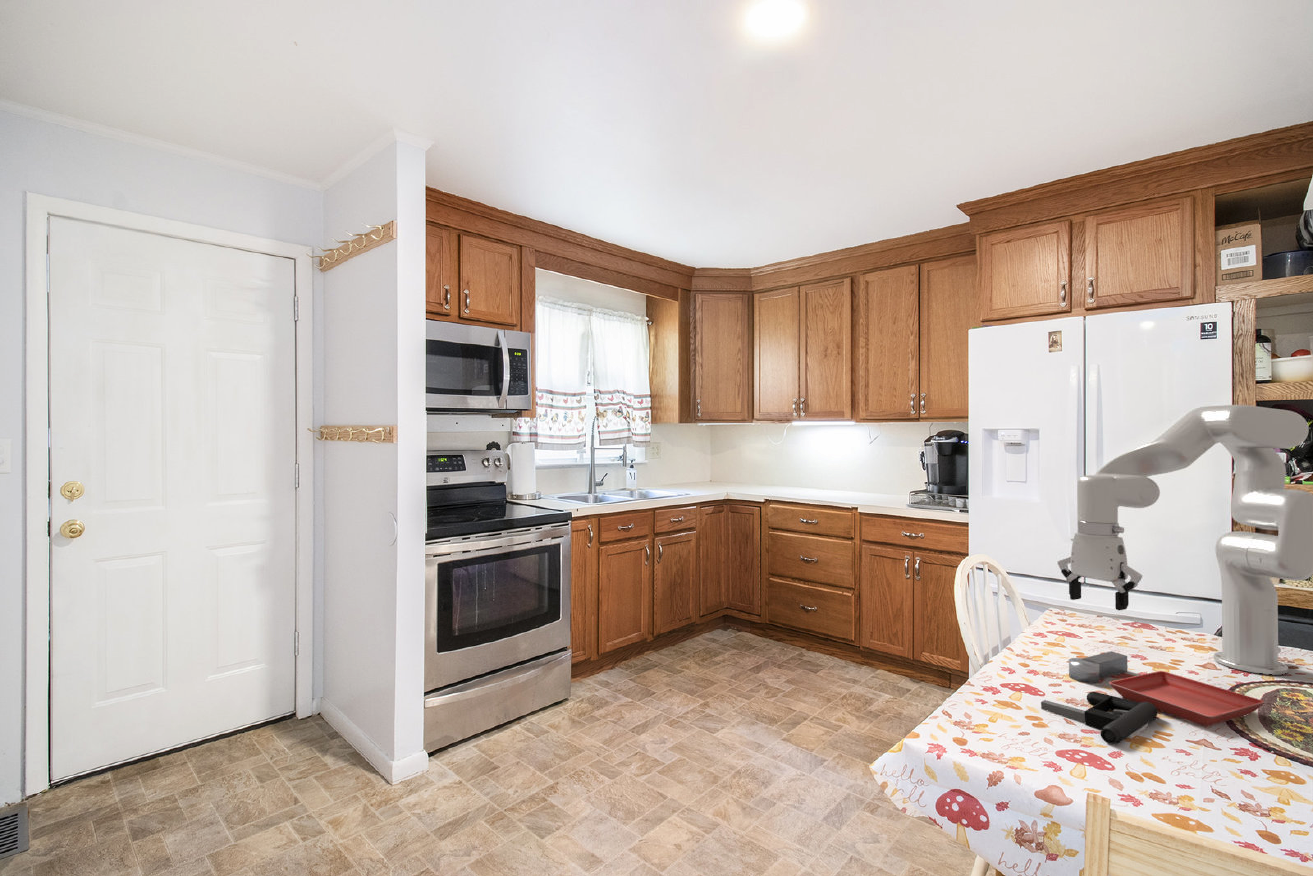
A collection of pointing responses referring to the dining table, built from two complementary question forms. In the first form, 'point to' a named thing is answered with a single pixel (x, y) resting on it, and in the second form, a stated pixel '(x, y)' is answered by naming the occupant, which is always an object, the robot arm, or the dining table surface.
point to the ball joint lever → (1097, 667)
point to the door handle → (1109, 715)
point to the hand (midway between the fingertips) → (1097, 604)
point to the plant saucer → (1186, 697)
